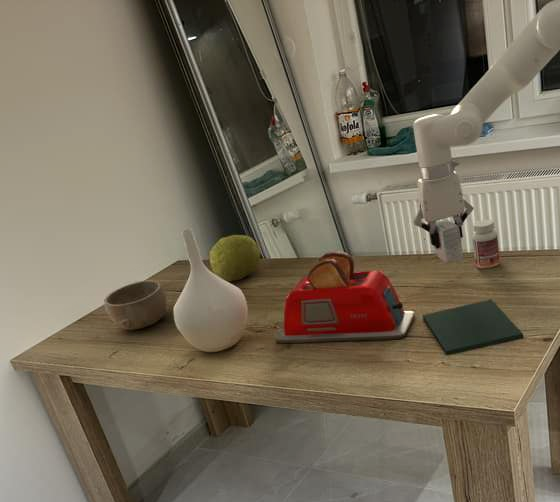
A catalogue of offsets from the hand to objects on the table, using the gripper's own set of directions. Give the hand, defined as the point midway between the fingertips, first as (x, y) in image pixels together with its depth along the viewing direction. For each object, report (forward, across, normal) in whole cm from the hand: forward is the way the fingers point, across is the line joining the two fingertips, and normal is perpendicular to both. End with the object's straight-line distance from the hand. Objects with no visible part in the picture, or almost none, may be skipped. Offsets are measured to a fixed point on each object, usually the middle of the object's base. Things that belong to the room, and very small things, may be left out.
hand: (447, 243), depth 168 cm
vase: (+9, +61, +4) cm, 62 cm away
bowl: (+9, +85, -24) cm, 89 cm away
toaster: (+10, +30, +13) cm, 34 cm away
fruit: (+9, +56, -45) cm, 72 cm away
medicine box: (+4, 0, 0) cm, 4 cm away
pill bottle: (+11, -11, -7) cm, 17 cm away
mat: (+11, +4, +27) cm, 29 cm away
